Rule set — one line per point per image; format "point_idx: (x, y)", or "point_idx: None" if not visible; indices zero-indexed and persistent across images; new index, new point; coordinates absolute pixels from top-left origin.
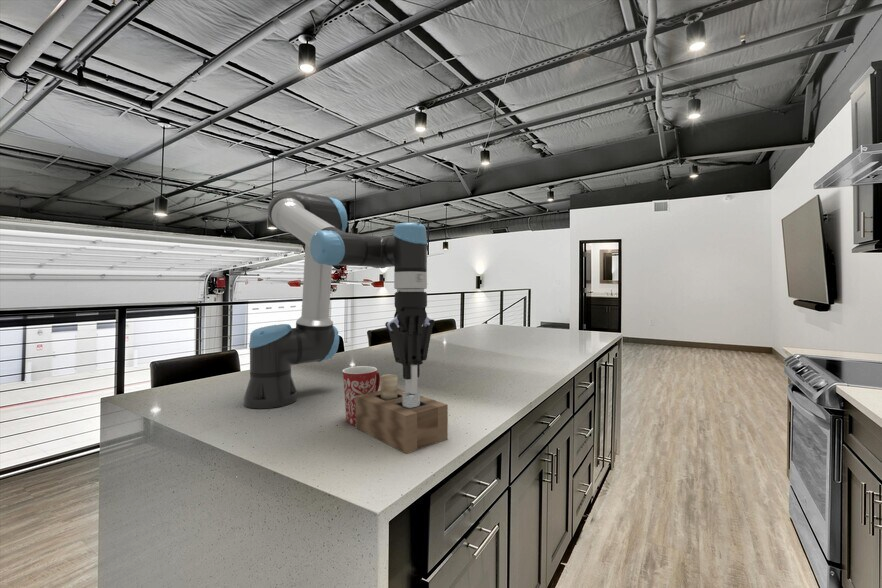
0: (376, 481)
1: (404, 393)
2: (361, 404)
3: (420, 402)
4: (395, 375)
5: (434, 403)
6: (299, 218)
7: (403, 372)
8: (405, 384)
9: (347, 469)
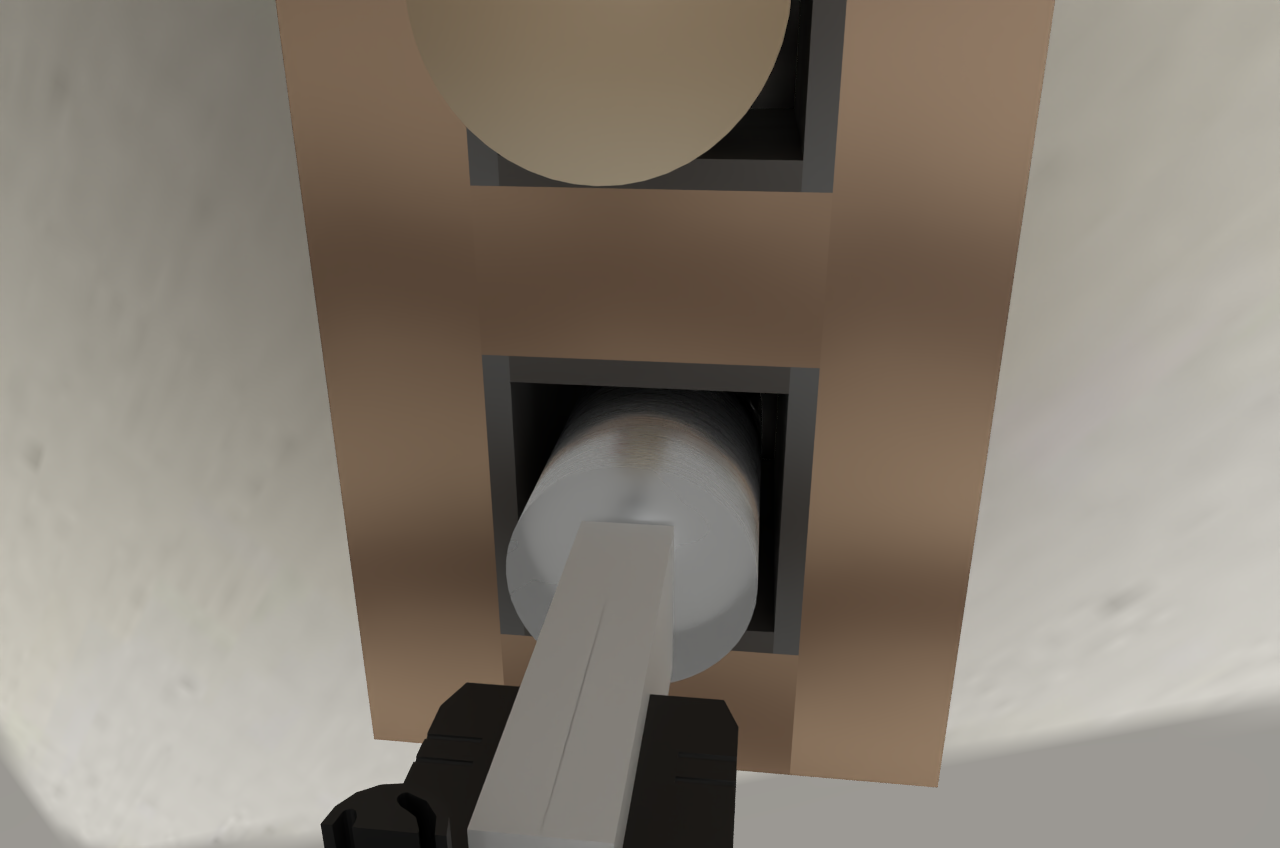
0: (159, 687)
1: (557, 527)
2: None
3: (780, 535)
4: (747, 33)
5: (864, 674)
6: None
7: (416, 774)
8: (559, 584)
9: (60, 472)
